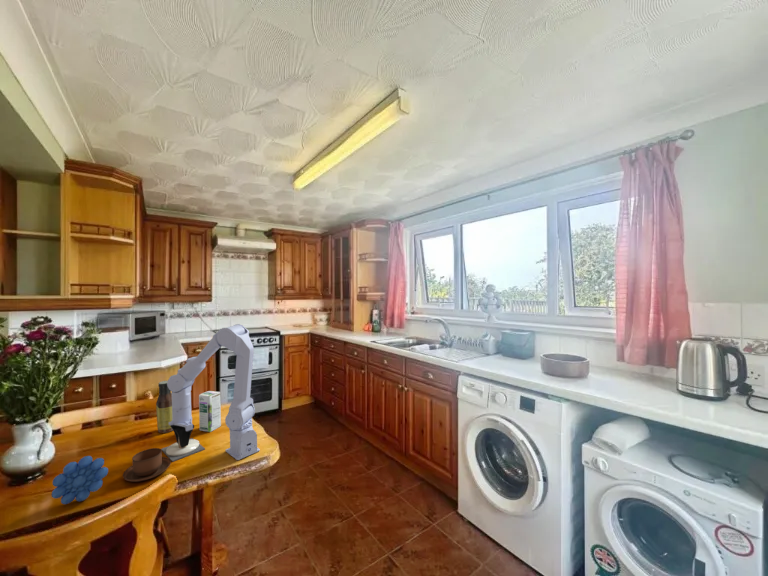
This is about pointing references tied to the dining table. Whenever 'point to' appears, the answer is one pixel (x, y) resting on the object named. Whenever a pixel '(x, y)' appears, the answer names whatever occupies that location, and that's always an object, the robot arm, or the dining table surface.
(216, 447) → the dining table surface
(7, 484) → the dining table surface
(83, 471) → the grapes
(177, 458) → the plate
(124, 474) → the cup and saucer
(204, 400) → the syrup box
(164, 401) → the sauce bottle
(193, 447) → the lid
